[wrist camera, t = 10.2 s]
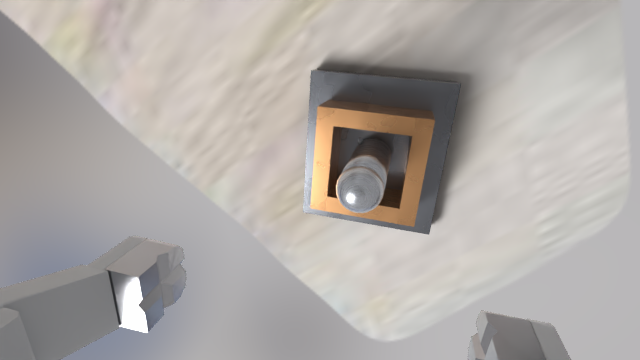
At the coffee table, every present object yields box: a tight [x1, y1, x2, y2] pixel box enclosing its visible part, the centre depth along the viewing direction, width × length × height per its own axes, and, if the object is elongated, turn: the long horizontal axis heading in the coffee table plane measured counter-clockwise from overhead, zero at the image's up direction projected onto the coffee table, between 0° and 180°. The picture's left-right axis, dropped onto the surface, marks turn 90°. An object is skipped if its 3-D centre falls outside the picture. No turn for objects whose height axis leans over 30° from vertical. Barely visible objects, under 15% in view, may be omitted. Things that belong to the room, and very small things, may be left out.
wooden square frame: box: [310, 99, 435, 227], centre depth 21 cm, size 6×6×3 cm
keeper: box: [303, 70, 461, 234], centre depth 20 cm, size 10×9×8 cm
